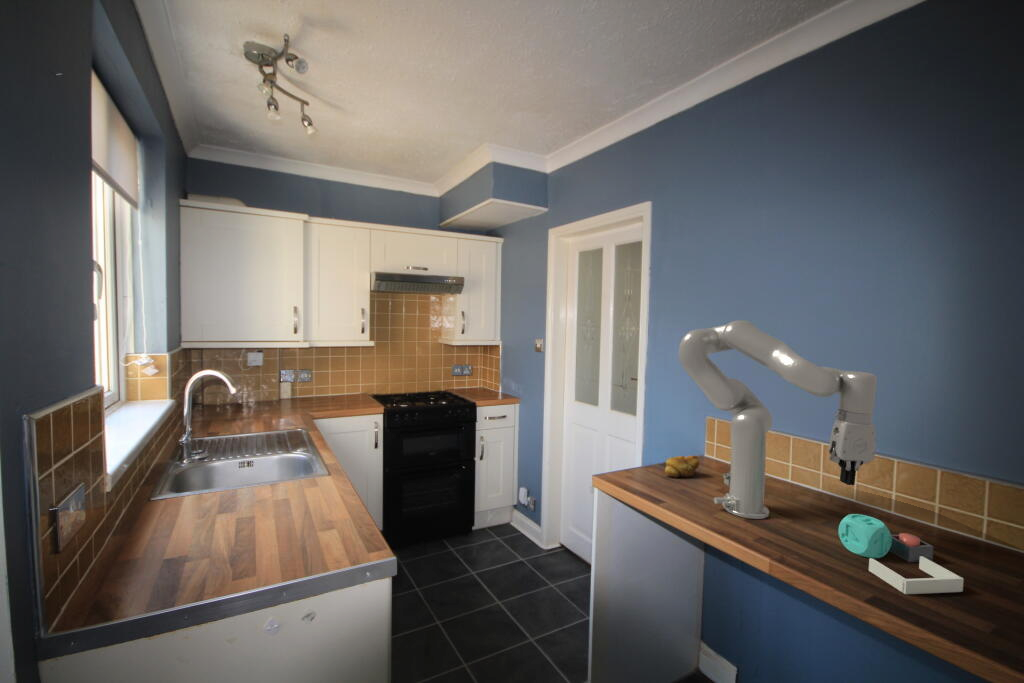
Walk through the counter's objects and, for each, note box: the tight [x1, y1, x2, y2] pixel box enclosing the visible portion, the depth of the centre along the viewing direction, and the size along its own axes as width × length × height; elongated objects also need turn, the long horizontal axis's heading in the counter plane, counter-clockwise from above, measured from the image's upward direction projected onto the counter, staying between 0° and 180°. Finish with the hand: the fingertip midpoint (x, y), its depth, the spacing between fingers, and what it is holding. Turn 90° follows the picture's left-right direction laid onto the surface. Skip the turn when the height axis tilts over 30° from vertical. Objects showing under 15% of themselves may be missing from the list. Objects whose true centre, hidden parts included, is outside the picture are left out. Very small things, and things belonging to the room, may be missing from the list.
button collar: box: [888, 533, 934, 563], centre depth 117 cm, size 6×6×4 cm
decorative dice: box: [837, 513, 892, 559], centre depth 119 cm, size 8×8×8 cm
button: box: [898, 532, 921, 546], centre depth 117 cm, size 4×4×4 cm
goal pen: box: [868, 556, 964, 595], centre depth 106 cm, size 14×9×3 cm
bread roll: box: [664, 455, 700, 478], centre depth 174 cm, size 13×10×8 cm
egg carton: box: [722, 470, 730, 486], centre depth 167 cm, size 11×8×4 cm
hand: (846, 483), depth 127 cm, fingers closed
